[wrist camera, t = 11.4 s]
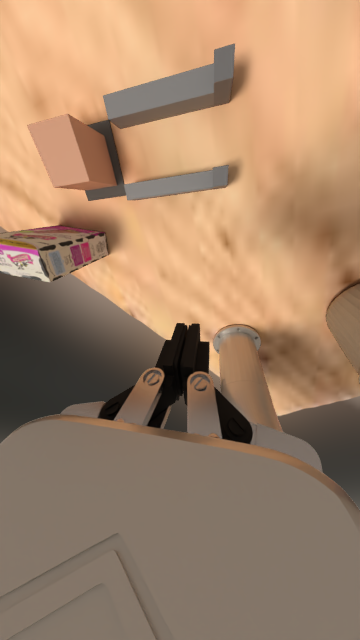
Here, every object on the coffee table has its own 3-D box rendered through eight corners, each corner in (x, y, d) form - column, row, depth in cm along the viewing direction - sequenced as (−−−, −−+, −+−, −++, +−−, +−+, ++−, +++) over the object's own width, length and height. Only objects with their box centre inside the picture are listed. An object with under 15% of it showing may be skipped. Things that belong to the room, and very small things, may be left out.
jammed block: (117, 185, 28) (89, 181, 22) (87, 190, 30) (53, 187, 23) (104, 136, 25) (67, 113, 19) (72, 143, 26) (26, 125, 20)
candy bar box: (105, 230, 34) (37, 248, 21) (109, 255, 37) (52, 284, 24) (56, 223, 34) (-39, 236, 21) (64, 248, 37) (-15, 272, 25)
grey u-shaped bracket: (225, 187, 26) (227, 184, 22) (135, 200, 30) (122, 200, 25) (230, 77, 20) (234, 43, 16) (116, 108, 23) (93, 86, 19)
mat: (126, 195, 29) (126, 195, 29) (88, 200, 31) (88, 200, 31) (109, 120, 24) (108, 119, 24) (64, 131, 26) (64, 131, 26)
